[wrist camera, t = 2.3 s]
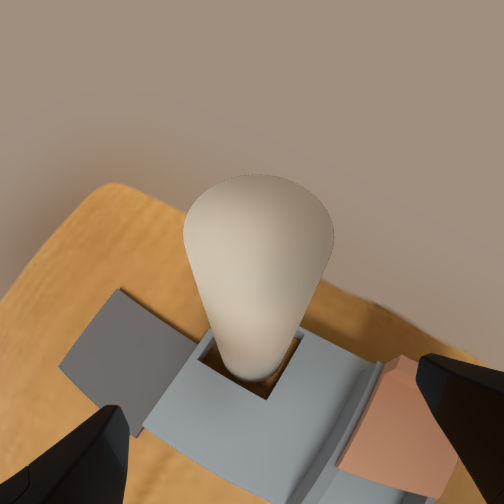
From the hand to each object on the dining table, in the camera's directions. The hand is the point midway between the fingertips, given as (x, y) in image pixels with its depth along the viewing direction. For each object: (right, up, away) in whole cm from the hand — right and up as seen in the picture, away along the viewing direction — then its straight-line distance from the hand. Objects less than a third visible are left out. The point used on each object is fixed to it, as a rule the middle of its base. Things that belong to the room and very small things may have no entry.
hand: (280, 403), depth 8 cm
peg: (-1, -3, +12) cm, 13 cm away
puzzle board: (+3, -7, +9) cm, 12 cm away
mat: (-10, -4, +12) cm, 16 cm away
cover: (+8, -6, +5) cm, 11 cm away
